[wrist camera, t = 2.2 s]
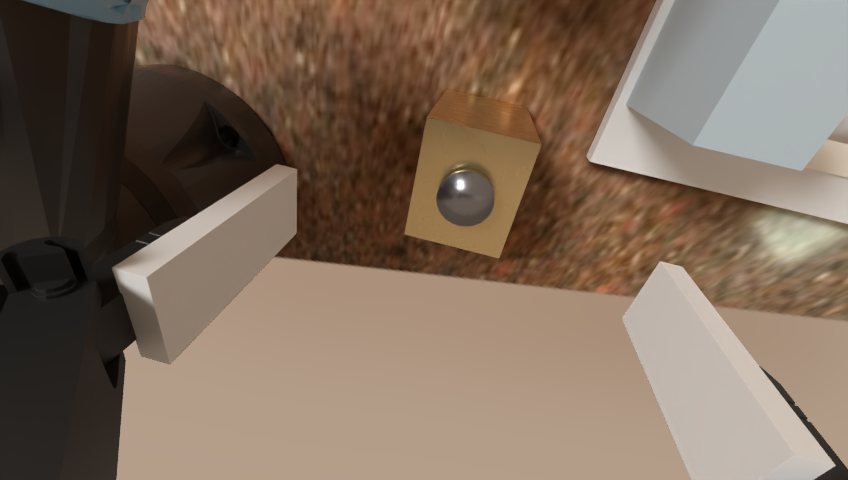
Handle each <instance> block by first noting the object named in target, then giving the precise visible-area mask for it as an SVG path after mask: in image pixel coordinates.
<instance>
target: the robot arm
mask: <svg viewBox="0 0 848 480" xmlns="http://www.w3.org/2000/svg"><path fill="white" fill-rule="evenodd" d="M147 2H148V0H0V480H116V476H117V462H118V450H119V437H120V425H121V412H122V399H123V386H124V373H125V361H126V360H125V357H124V353H123V350H124V349H125V348H127V347H128V346H129V345H130V344H131V343H133V342H134V341H135V340H136V342H137V345H138V348H139V351H140V354H141V356H142V357H146V358H149V359H153V360H156V361H160V362H163V363H167V364H171V363H172V362H173V361H174V360H175V359H176V358H177V357H178V356H179V355H180V354H181V353H182V352H183V351H184V350H185V349H186V347H188V345H190V343H191V342H192V341H193V340H194V339H195V338H196V337H197V336H198V335H199V334H200V333H201V332H202V331H203V330H204V329H205V328H206V327H207V326H208V325H209V324H210V323H211V322H212V321H213V320H214V319H215V318H216V316H217V315H218V314H219V313H220V312H221V311H222V310H223V309H224V308H225V307H226V306H227V305H228V304H229V303H230V302H231V301H232V300H233V299H234V298H235V297H236V296H237V295H238V293H240V292H241V291H242V289H243V288H244V287H245V286H246V285H247V284H248V283H249V282H250V281H251V280H252V279H253V278H254V277H255V276H256V275H257V274H258V273H259V272H260V270H262V269H263V268H264V267H265V265H267V264H268V263H269V261H270V260H271V259H272V258H273V257H274V256H275V255H276V254H277V253H278V252H279V251H280V250H281V249H282V248H283V247H284V246H285V245H286V244H287V243H288V242H289V241H290V240H291V239H292V238H293V237H294V236H295V235H296V233H297V169H294V168H291V167H287V166H286V165H285V162H284V160H283V157H282V155H281V152H280V150H279V148H278V146H277V144H276V143H275V141H274V139H273V137H272V136H271V134H270V133H269V131H268V130H267V128H266V127H265V125H264V124H263V123H262V121H261V120H260V119H259V118H258V116H257V115H256V114H255V113H254V112H253V111H252V110H251V109H250V108H249V107H248V106H247V105H246V104H245V103H244V102H243V101H242V100H241V99H240V98H239V97H237V96H236V95H235V94H234V93H232V92H231V91H230V90H228V89H227V88H226V87H224V86H223V85H221V84H220V83H218V82H216V81H215V80H213V79H211V78H209V77H207V76H205V75H203V74H201V73H198V72H196V71H193V70H190V69H187V68H183V67H179V66H174V65H164V64H156V65H146V66H138V67H134V60H135V51H136V42H137V33H138V23H139V20H142V19H143V18H144V17H145V11H146V5H147ZM622 320H623V322H624V325H625V327H626V329H627V332H628V334H629V336H630V339H631V341H632V343H633V346H634V348H635V350H636V353H637V355H638V357H639V359H640V362H641V364H642V367H643V369H644V371H645V373H646V376H647V378H648V381H649V383H650V385H651V387H652V390H653V392H654V394H655V397H656V399H657V402H658V404H659V406H660V409H661V411H662V413H663V416H664V418H665V420H666V422H667V425H668V427H669V429H670V432H671V434H672V436H673V439H674V441H675V443H676V446H677V448H678V450H679V453H680V455H681V457H682V460H683V462H684V464H685V467H686V469H687V471H688V474H689V476H690V478H691V480H848V469H847V468H846V466H845V465H844V464H843V463H842V461H841V460H840V459H839V457H838V456H837V455H836V454H835V452H834V451H833V450H832V449H831V447H830V446H829V445H828V444H827V442H826V441H825V440H824V439H823V437H822V436H821V435H820V433H819V432H818V431H817V430H816V429H815V427H814V426H813V425H812V423H810V422H808V421H807V417H806V416H805V415H804V413H803V412H802V411H801V410H800V408H799V407H798V406H795V402H794V401H793V400H792V398H791V397H790V396H789V394H788V393H787V392H786V391H785V389H784V388H783V387H782V386H781V384H780V383H778V382H777V381H776V380H775V379H774V378H773V377H772V376H771V375H769V374H768V373H767V372H766V371H765V370H764V369H763V368H761V367H760V366H758V364H757V363H756V362H755V360H754V359H753V358H752V356H751V355H750V354H749V353H748V351H747V350H746V349H745V347H744V346H743V345H742V344H741V342H740V341H739V340H738V338H737V337H736V336H735V334H734V333H733V332H732V331H731V329H730V328H729V327H728V325H727V324H726V323H725V322H724V320H723V319H722V318H721V316H720V315H719V314H718V313H717V311H716V310H715V309H714V307H713V306H712V305H711V303H710V302H709V301H708V300H707V298H706V297H705V296H704V294H703V293H702V292H701V290H700V289H699V288H698V287H697V285H696V284H695V283H694V281H693V280H692V279H691V278H690V276H689V275H688V274H687V272H686V271H685V270H684V268H683V267H681V266H677V265H673V264H669V263H665V262H661V261H660V262H659V264H658V265H657V267H656V268H655V270H654V271H653V273H652V274H651V276H650V277H649V279H648V280H647V282H646V283H645V285H644V286H643V288H642V289H641V291H640V292H639V294H638V295H637V297H636V298H635V300H634V301H633V303H632V304H631V306H630V307H629V309H628V310H627V312H626V313H625V315H624V316H623V318H622Z"/></svg>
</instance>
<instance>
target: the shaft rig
mask: <svg viewBox="0 0 848 480" xmlns="http://www.w3.org/2000/svg"><path fill="white" fill-rule="evenodd" d="M586 157H587V158H588V160H589V161H590V162H593V163H597V164H602V165H606V166H610V167H614V168H618V169H622V170H626V171H631V172H635V173H639V174H643V175H647V176H651V177H655V178H660V179H664V180H668V181H672V182H676V183H680V184H684V185H689V186H693V187H697V188H701V189H705V190H709V191H713V192H718V193H722V194H726V195H730V196H734V197H738V198H742V199H747V200H751V201H755V202H759V203H763V204H767V205H771V206H776V207H780V208H784V209H788V210H792V211H796V212H800V213H805V214H809V215H813V216H817V217H821V218H825V219H829V220H834V221H838V222H842V223H846V224H848V0H656V2H655V4H654V6H653V9H652V11H651V13H650V15H649V17H648V20H647V22H646V24H645V26H644V29H643V31H642V33H641V35H640V38H639V40H638V42H637V44H636V46H635V49H634V51H633V53H632V55H631V58H630V60H629V62H628V64H627V67H626V69H625V71H624V73H623V75H622V78H621V80H620V82H619V84H618V87H617V89H616V91H615V93H614V96H613V98H612V100H611V102H610V105H609V107H608V109H607V111H606V113H605V116H604V118H603V120H602V122H601V125H600V127H599V129H598V131H597V134H596V136H595V138H594V140H593V142H592V145H591V147H590V149H589V151H588V154H587V156H586Z"/></svg>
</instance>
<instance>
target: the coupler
mask: <svg viewBox="0 0 848 480" xmlns="http://www.w3.org/2000/svg"><path fill="white" fill-rule="evenodd" d="M541 145H542V144H541V141H540V139H539V136H538V134H537V131H536V129H535V126H534V124H533V121H532V119H531V116H530V114H529V111H528V109H527V107H523V106H519V105H514V104H510V103H506V102H502V101H497V100H493V99H489V98H485V97H481V96H476V95H472V94H468V93H464V92H460V91H455V90H451V89H446V91H445V92H444V94H443V95H442V96H441V98H440V99H439V101H438V102H437V103H436V105H435V106H434V108H433V109H432V110H431V112H430V113H429V115H428V116H427V118H426V124H425V129H424V134H423V139H422V144H421V150H420V155H419V160H418V165H417V171H416V176H415V181H414V186H413V191H412V197H411V202H410V207H409V212H408V217H407V223H406V228H405V233H404V234H405V235H409V236H413V237H417V238H420V239H424V240H428V241H432V242H436V243H440V244H444V245H448V246H452V247H456V248H460V249H464V250H468V251H472V252H476V253H479V254H483V255H487V256H491V257H495V258H500V255H501V252H502V250H503V247H504V244H505V242H506V239H507V236H508V234H509V231H510V228H511V226H512V223H513V220H514V218H515V215H516V212H517V210H518V207H519V204H520V201H521V199H522V196H523V193H524V191H525V188H526V185H527V183H528V180H529V177H530V175H531V172H532V169H533V167H534V164H535V161H536V159H537V156H538V153H539V151H540V148H541Z"/></svg>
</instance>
